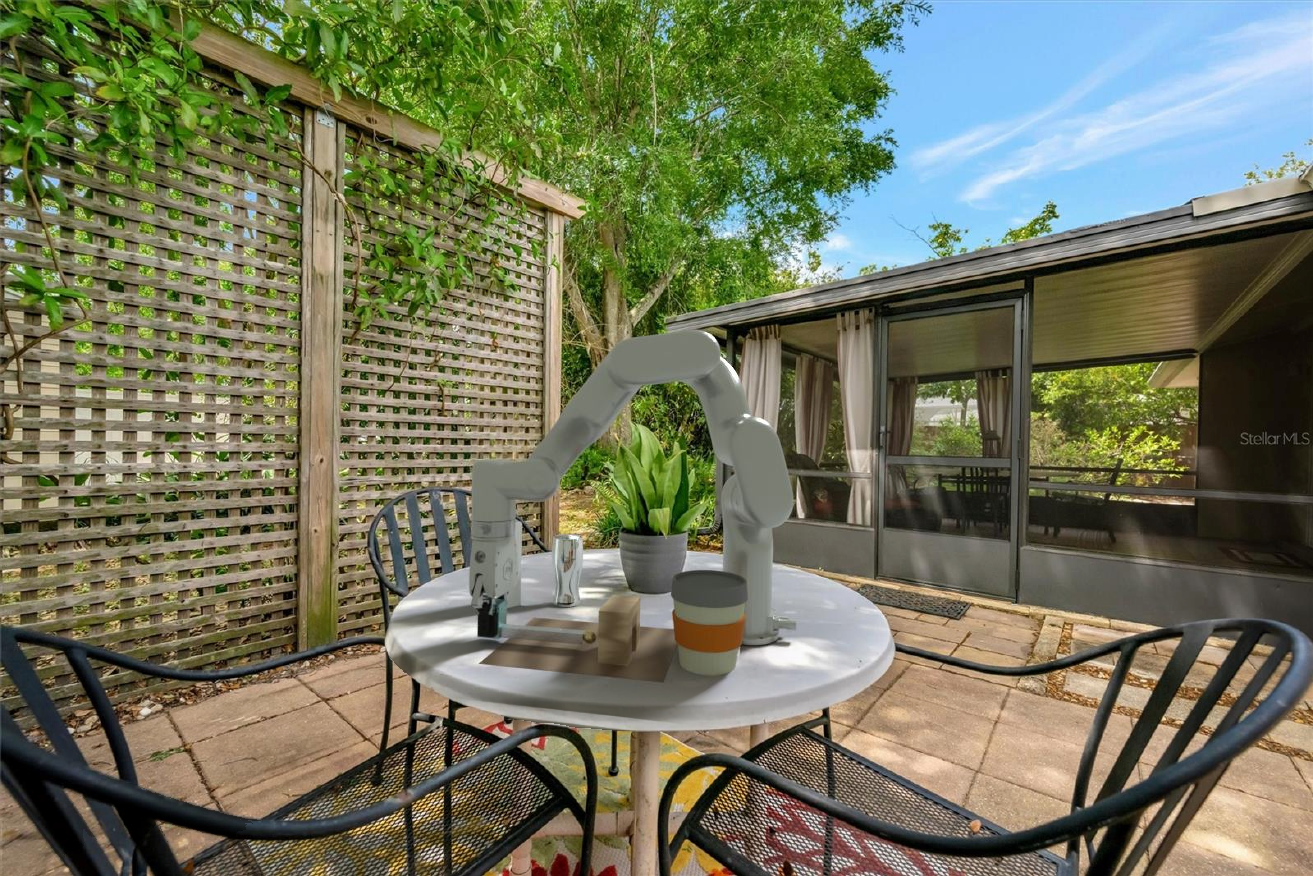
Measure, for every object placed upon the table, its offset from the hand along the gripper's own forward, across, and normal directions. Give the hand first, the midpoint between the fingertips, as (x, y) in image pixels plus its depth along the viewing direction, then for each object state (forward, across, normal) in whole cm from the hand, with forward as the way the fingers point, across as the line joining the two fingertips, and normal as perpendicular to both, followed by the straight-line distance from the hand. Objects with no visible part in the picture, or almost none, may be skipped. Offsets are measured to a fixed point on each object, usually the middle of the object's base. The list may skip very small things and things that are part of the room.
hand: (492, 631), depth 98 cm
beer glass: (+3, +28, -4) cm, 28 cm away
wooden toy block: (+2, 0, -23) cm, 23 cm away
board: (+3, +2, -17) cm, 18 cm away
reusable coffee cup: (+3, -1, -38) cm, 38 cm away
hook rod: (+1, 0, -9) cm, 9 cm away
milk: (+3, +20, +8) cm, 21 cm away
